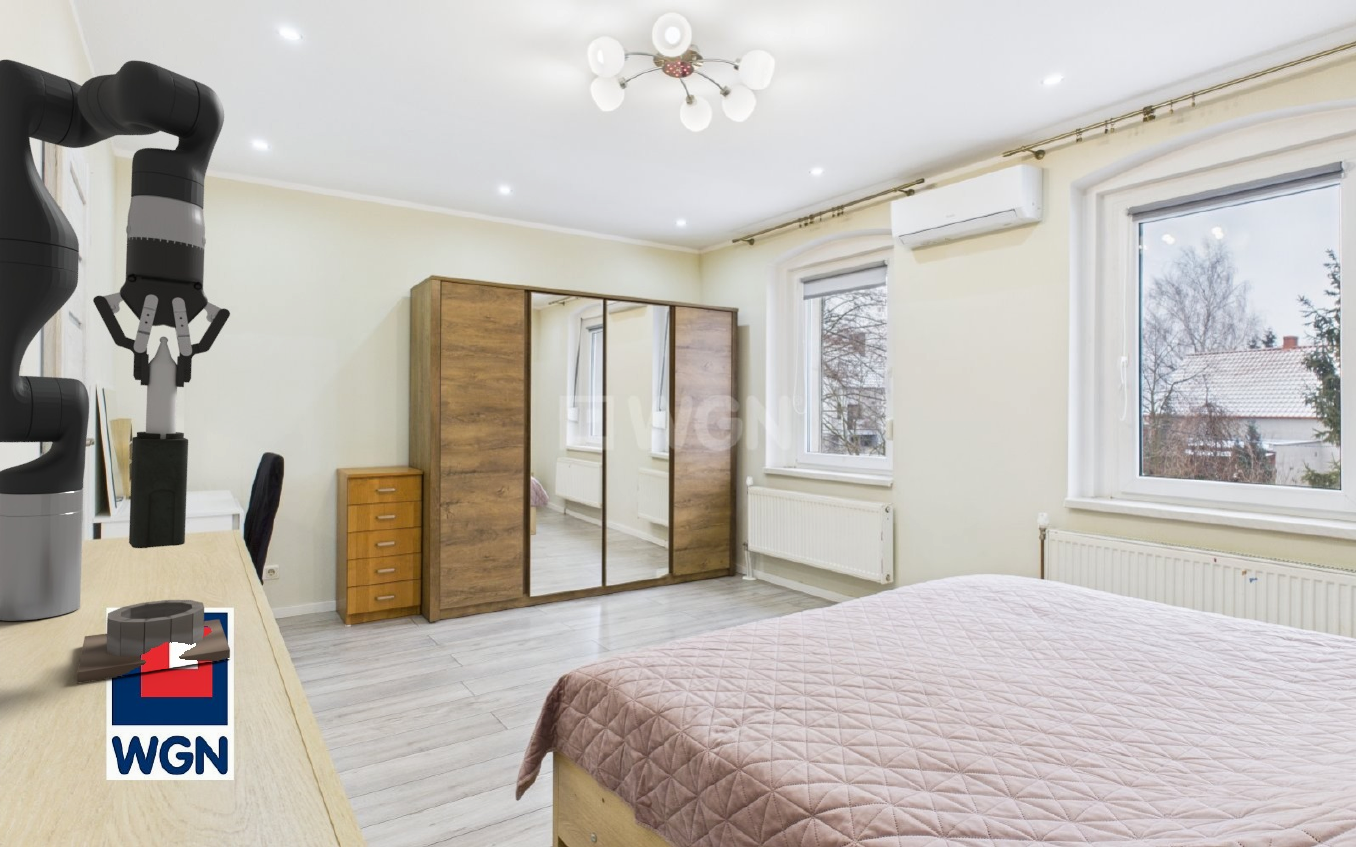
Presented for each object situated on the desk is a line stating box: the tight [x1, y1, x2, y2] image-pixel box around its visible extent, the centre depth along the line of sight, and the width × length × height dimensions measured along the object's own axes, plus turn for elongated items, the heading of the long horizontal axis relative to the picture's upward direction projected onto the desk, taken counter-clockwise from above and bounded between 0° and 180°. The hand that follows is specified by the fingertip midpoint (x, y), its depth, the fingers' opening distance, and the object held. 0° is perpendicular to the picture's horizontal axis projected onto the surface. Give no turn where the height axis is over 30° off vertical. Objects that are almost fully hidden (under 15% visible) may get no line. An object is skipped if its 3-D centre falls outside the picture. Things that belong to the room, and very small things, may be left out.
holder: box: [76, 599, 231, 684], centre depth 86 cm, size 14×14×5 cm
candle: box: [128, 336, 189, 549], centre depth 85 cm, size 5×5×25 cm
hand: (162, 385), depth 85 cm, fingers closed on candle, 3 cm apart
